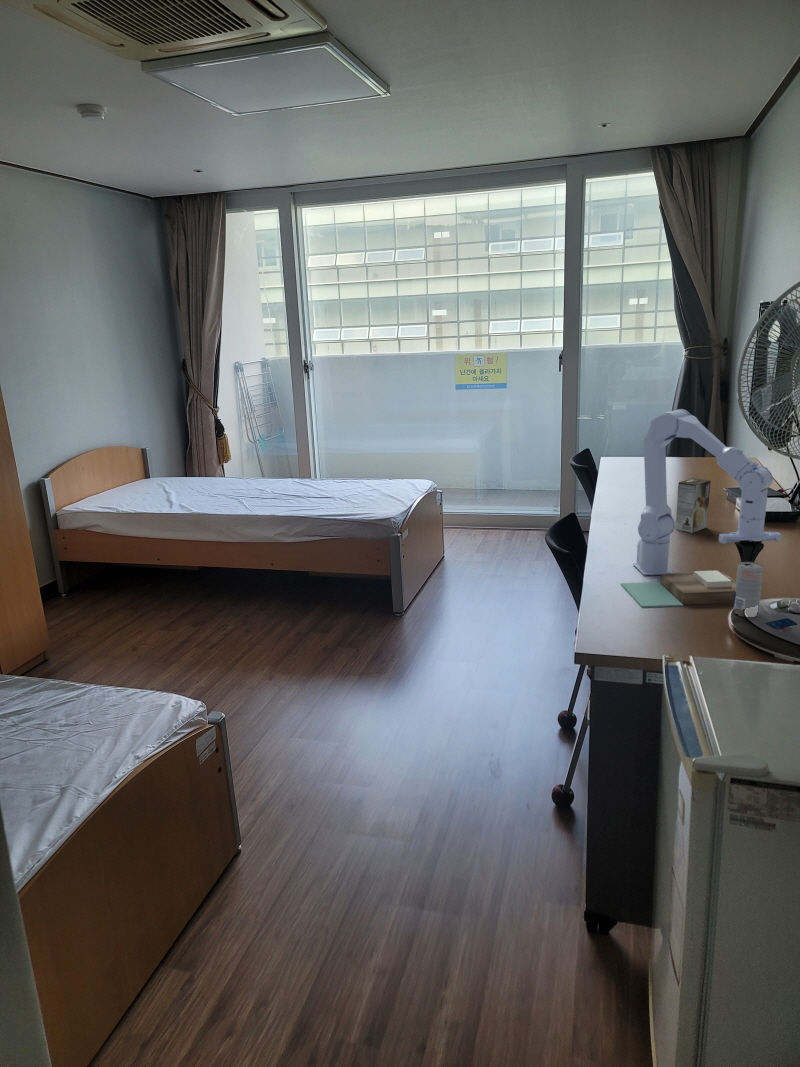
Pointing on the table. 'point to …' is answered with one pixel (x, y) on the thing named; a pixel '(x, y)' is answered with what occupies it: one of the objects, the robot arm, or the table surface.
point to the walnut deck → (697, 589)
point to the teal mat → (651, 594)
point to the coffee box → (692, 505)
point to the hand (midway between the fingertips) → (746, 569)
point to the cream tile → (712, 579)
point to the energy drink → (748, 585)
